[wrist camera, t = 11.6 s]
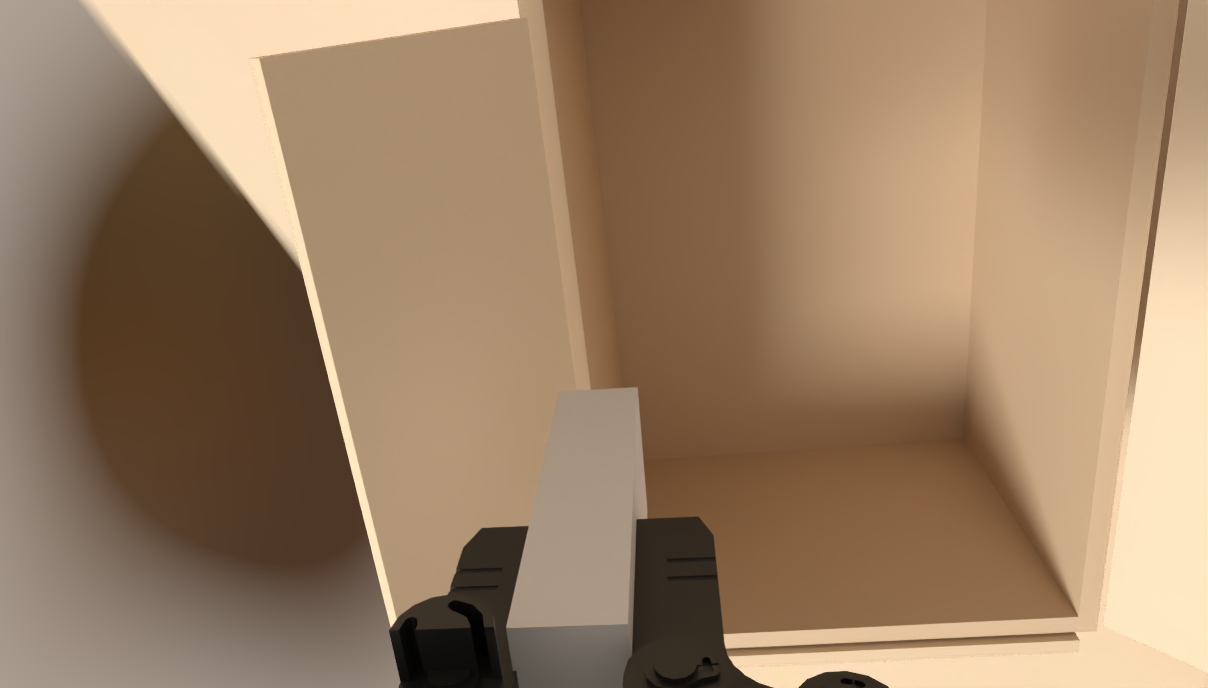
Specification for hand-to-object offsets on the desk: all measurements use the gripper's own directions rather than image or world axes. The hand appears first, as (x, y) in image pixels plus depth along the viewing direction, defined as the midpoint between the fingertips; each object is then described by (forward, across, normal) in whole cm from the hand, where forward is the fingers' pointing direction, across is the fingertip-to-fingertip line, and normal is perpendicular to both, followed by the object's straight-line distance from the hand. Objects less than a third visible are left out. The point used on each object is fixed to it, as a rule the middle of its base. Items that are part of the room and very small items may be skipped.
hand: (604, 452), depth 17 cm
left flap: (+2, -3, 0) cm, 3 cm away
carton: (+14, +5, 0) cm, 15 cm away
